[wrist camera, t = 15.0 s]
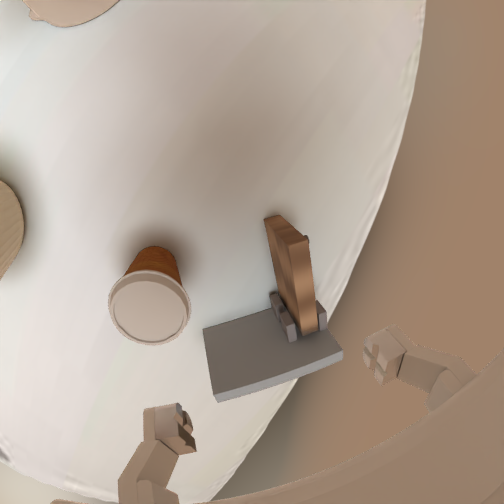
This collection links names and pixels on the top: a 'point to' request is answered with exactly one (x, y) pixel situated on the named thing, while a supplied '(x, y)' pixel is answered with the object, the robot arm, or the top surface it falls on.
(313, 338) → the cabinet side
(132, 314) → the disposable coffee cup
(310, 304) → the walnut door
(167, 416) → the robot arm
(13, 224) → the canister
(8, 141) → the top surface
